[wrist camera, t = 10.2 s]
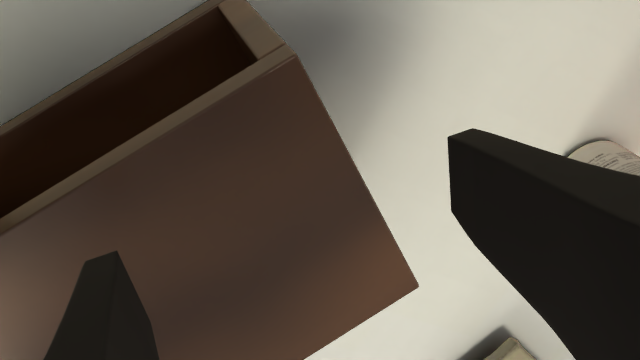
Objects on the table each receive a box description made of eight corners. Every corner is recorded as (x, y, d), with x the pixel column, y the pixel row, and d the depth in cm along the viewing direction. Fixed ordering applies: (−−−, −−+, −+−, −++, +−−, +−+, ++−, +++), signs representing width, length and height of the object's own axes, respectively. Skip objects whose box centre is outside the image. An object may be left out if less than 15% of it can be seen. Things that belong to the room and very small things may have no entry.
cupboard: (-89, 180, 19) (-152, 327, 13) (232, -15, 19) (297, 53, 14) (95, 337, 24) (102, 487, 19) (343, 182, 24) (420, 287, 19)
